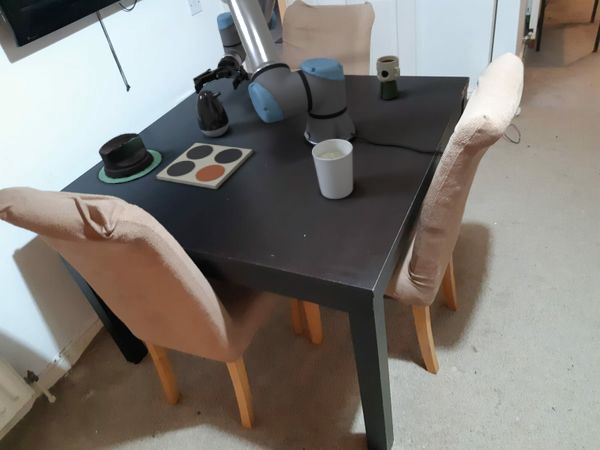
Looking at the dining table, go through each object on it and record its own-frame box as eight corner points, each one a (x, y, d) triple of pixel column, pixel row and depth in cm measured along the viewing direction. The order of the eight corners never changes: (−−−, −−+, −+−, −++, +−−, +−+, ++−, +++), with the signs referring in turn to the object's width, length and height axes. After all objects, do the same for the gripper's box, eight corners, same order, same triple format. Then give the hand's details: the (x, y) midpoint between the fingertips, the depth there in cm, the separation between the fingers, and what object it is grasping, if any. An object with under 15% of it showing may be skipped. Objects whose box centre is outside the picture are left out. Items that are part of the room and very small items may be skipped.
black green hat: (127, 144, 151) (174, 149, 144) (106, 192, 146) (154, 200, 138) (97, 119, 138) (147, 123, 131) (72, 171, 132) (124, 178, 125)
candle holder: (332, 175, 118) (327, 135, 111) (363, 185, 113) (360, 143, 105) (310, 194, 113) (303, 154, 106) (341, 205, 107) (336, 163, 100)
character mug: (370, 96, 154) (368, 59, 146) (385, 89, 156) (384, 52, 148) (391, 104, 146) (391, 66, 138) (407, 97, 149) (407, 58, 141)
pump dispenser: (226, 140, 144) (214, 96, 135) (197, 141, 147) (183, 98, 137) (236, 125, 152) (224, 83, 142) (208, 126, 154) (195, 85, 145)
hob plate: (253, 152, 135) (252, 148, 134) (216, 189, 122) (215, 185, 121) (197, 145, 144) (195, 142, 144) (157, 179, 131) (155, 175, 130)
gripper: (263, 71, 166) (252, 95, 150) (201, 78, 170) (184, 101, 154) (259, 51, 161) (247, 73, 145) (195, 59, 165) (177, 81, 149)
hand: (215, 88), depth 149 cm, fingers open, 13 cm apart
